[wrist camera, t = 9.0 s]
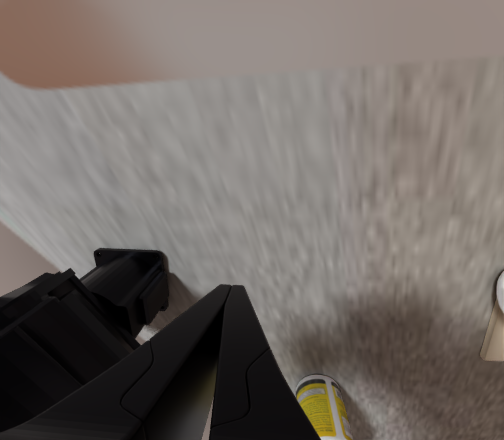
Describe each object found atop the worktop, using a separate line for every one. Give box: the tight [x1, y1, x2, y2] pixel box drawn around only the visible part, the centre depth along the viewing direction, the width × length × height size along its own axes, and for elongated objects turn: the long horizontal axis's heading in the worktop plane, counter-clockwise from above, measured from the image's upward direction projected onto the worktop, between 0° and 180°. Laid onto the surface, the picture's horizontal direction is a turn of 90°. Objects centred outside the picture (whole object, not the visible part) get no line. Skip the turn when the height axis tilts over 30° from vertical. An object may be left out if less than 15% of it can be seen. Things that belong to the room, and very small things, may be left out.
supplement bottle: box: [296, 375, 354, 440], centre depth 23 cm, size 5×5×8 cm
